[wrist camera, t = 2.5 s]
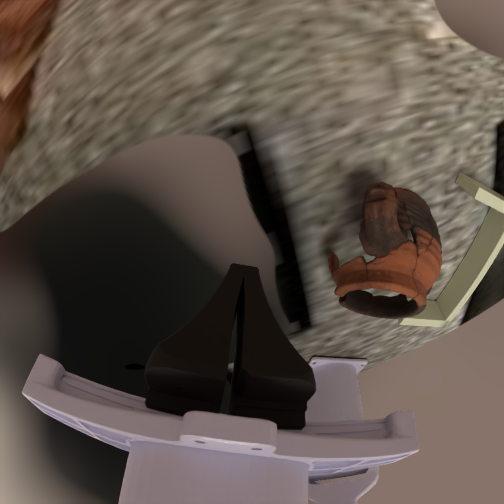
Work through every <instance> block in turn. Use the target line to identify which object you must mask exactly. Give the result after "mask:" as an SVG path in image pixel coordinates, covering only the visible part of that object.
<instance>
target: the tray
mask: <svg viewBox="0 0 504 504" xmlns="http://www.w3.org/2000/svg"><path fill="white" fill-rule="evenodd" d="M456 183H457V184H458V185H459V186H460V187H462V188H463V189H464V190H465V191H466V192H468V193H469V194H470V195H471V196H472V197H473V198H474V199H476V200H478V201H480V202H482V203H484V204H486V205H488V206H490V207H491V208H490V210H489V212H488V214H487V216H486V218H485V220H484V222H483V224H482V226H481V228H480V230H479V232H478V234H477V236H476V238H475V239H474V241H473V243H472V245H471V247H470V248H469V250H468V252H467V254H466V255H465V257H464V259H463V260H462V262H461V264H460V265H459V267H458V269H457V270H456V272H455V273H454V275H453V276H452V278H451V280H450V281H449V283H448V284H447V286H446V287H445V289H444V290H443V291H442V293H441V294H440V296H439V297H438V299H437V300H436V301H432V300H426V308H425V309H424V310H423V311H422V312H421V313H419V314H418V315H415V316H413V317H408V318H400V319H398V321H399V324H401V325H416V326H434V327H446V326H447V325H448V324H449V323H450V322H451V320H452V319H453V318H454V317H455V315H456V314H457V313H458V312H459V310H460V309H461V308H462V306H463V305H464V304H465V302H466V301H467V300H468V298H469V297H470V296H471V294H472V293H473V291H474V290H475V289H476V287H477V286H478V284H479V283H480V281H481V280H482V278H483V277H484V275H485V274H486V272H487V271H488V269H489V267H490V266H491V264H492V263H493V261H494V259H495V258H496V256H497V254H498V252H499V251H500V249H501V247H502V245H503V244H504V197H503V196H502V195H500V194H499V193H497V192H495V191H494V190H492V189H490V188H488V187H487V186H485V185H483V184H481V183H480V182H478V181H476V180H474V179H472V178H470V177H468V176H466V175H464V174H462V173H460V172H459V174H458V177H457V180H456ZM411 299H412V298H408V297H407V300H408V301H410V300H411Z"/></svg>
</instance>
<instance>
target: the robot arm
mask: <svg viewBox="0 0 504 504" xmlns="http://www.w3.org/2000/svg"><path fill="white" fill-rule="evenodd" d="M236 313H237V329H236V352H235V361H234V368H233V375H232V382H231V390H230V398H229V404H228V412H227V415H224V414H219V411H220V406H221V402H222V397H223V393H224V388H225V383H226V377H227V370H228V361H229V352H230V343H231V335H232V329H233V325H234V321H235V317H236ZM367 363H368V361H367V360H366V359H343V358H326V357H313V358H312V359H311V360H310V362H309V363H307V362H306V361H305V360H304V359H303V358H302V357H301V355H300V354H299V353H298V352H297V351H296V349H295V348H294V347H293V345H292V344H291V343H290V341H289V340H288V338H287V337H286V336H285V334H284V332H283V331H282V329H281V328H280V326H279V324H278V322H277V321H276V319H275V317H274V315H273V313H272V310H271V308H270V306H269V304H268V301H267V299H266V296H265V293H264V290H263V287H262V283H261V279H260V275H259V269H258V268H257V267H252V266H246V265H240V264H234V263H233V264H231V265H230V268H229V270H228V273H227V275H226V276H225V278H224V280H223V282H222V283H221V285H220V286H219V288H218V289H217V291H216V292H215V293H214V295H213V296H212V297H211V299H210V300H209V301H208V302H207V303H206V305H205V306H204V307H203V308H202V309H201V310H200V311H199V312H198V313H197V314H196V315H195V316H194V317H193V318H192V319H191V320H190V321H189V322H188V323H187V324H185V325H184V326H183V327H182V328H180V329H179V330H178V331H177V332H175V333H174V334H173V335H171V336H170V337H168V338H167V339H165V340H164V341H162V342H160V343H159V344H158V345H157V346H156V348H155V349H154V351H153V352H152V354H151V356H150V358H149V360H148V362H147V366H146V369H145V372H144V375H145V378H146V381H147V384H148V387H149V390H148V393H147V397H146V399H144V398H141V397H137V396H134V395H130V394H127V393H124V392H121V391H118V390H114V389H112V388H109V387H106V386H103V385H100V384H97V383H95V382H92V381H89V380H87V379H84V378H81V377H79V376H76V375H74V374H71V373H69V372H67V371H65V369H64V368H63V366H62V365H61V364H60V363H59V362H57V361H55V360H53V359H51V358H49V357H46V356H44V355H42V354H40V355H39V357H38V359H37V361H36V363H35V365H34V367H33V369H32V371H31V373H30V375H29V377H28V379H27V382H26V384H25V386H24V388H23V391H22V394H23V395H24V396H25V397H26V398H27V399H29V400H30V401H31V402H32V403H33V404H34V405H36V406H37V407H38V408H39V409H40V410H41V411H43V412H44V413H45V414H47V415H49V416H51V417H53V418H55V419H57V420H59V421H61V422H63V423H65V424H67V425H69V426H71V427H73V428H75V429H77V430H79V431H81V432H83V433H85V434H87V435H89V436H92V437H94V438H96V439H99V440H101V441H103V442H105V443H108V444H110V445H113V446H116V447H118V448H121V449H124V450H126V451H129V452H130V453H129V457H128V461H127V466H126V470H125V475H124V479H123V484H122V489H121V494H120V499H119V504H308V499H310V500H311V501H313V502H315V503H317V504H358V502H357V500H358V499H359V498H360V497H361V496H362V495H364V494H365V493H366V492H367V491H368V490H370V489H371V488H372V487H373V486H374V485H375V484H376V483H377V479H378V478H379V469H378V467H379V465H384V464H389V463H393V462H395V461H398V460H400V459H403V458H405V457H407V456H409V455H412V454H414V453H416V452H418V451H419V450H420V447H419V441H418V435H417V430H416V424H415V419H414V414H413V411H412V410H407V411H399V412H394V413H391V414H390V415H388V416H387V417H386V418H384V419H374V420H364V419H363V412H362V404H361V397H360V391H359V384H358V378H357V374H358V373H359V372H360V371H361V370H362V369H363V368H364V367H365V366H366V364H367ZM362 473H365V474H364V475H363V476H362V477H359V478H357V479H353V480H347V481H340V482H333V483H326V484H319V483H316V482H314V481H318V480H326V479H333V478H340V477H346V476H352V475H357V474H362Z"/></svg>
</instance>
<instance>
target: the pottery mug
mask: <svg viewBox="0 0 504 504" xmlns="http://www.w3.org/2000/svg"><path fill="white" fill-rule="evenodd" d="M395 196H396V197H395ZM362 213H363V215H362V217H363V220H362V222H361V225H360V233H359V239H360V241H361V243H362V246H363V250H364V251H365V252H366V254H368V255H370V256H375V257H376V258H375V259H374V260H372V261H370V262H368V263H367V262H366V260H365V259H364V257H363V256H358V257H356V258H355V259H353V260H351V261H350V262H347V263H345V264H343V265H342V266H341V267H340V268H339V260H338V257H337V256H336V255H334V254H333V253H330V254H329V255H330V257H329V264H330V265H329V269H330V271H331V274H332V277H333V280H334V282H335V283H336V284H337V287H336V289H335V292H334V293H335V295H338V296H340V299H339V303H340V304H341V305H342V306H343V307H345V308H347V309H349V310H351V311H354V312H357V313H360V314H364V315H368V316H372V317H379V318H388V319H400V318H408V317H413V316H415V315H418V314H419V313H421V312H422V311H423V310H424V309H425V308H426V296H427V295H428V294H429V293H430V290H431V288H432V286H433V284H434V283H435V282H436V280H437V277H438V276H439V274H440V270H441V265H442V258H441V253H442V251H441V247H442V246H441V242H440V235H439V233H438V228H437V224H436V222H435V220H434V219H433V217H432V215H431V212H430V208H429V207H428V205H427V204H426V202H425V201H424V200H423V199H422V198H420V197H419V196H418V195H417V194H415V193H413V192H411V191H407V190H404V189H400V188H395V189H393V187H392V186H391V185H389V184H386V183H384V182H380V183H377V184H372V185H371V186H370V187H369V188H368V189H367V190H366V192H365V198H364V203H363V207H362ZM409 228H410V229H411V233H412V237H413V240H414V242H412V241H411V240H407V234H406V232H405V230H406V229H409ZM369 288H375V289H383V290H388V291H393V292H398V293H401V294H399V295H397V296H393V297H388V296H382V295H380V296H373V295H372V294H371V293H369V292H366V291H362V290H359V289H369ZM406 295H407V296H408V297H411V298H412V299H411V300H410V301H408V300H407V297H406Z"/></svg>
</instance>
